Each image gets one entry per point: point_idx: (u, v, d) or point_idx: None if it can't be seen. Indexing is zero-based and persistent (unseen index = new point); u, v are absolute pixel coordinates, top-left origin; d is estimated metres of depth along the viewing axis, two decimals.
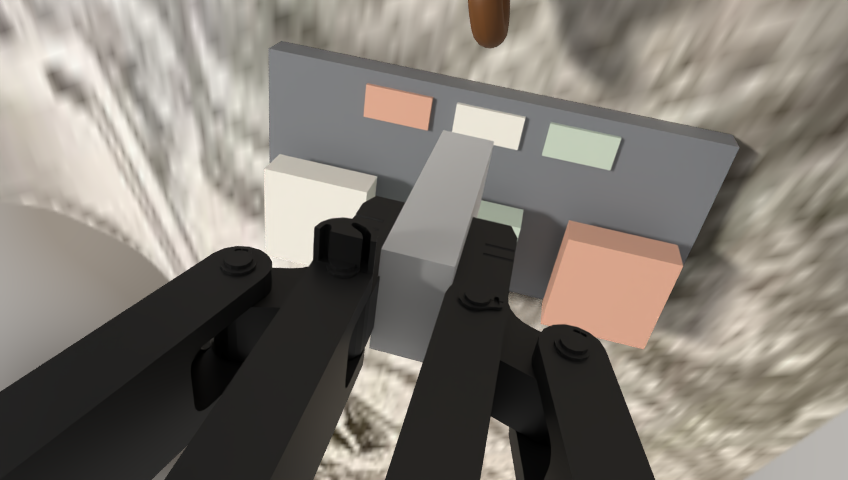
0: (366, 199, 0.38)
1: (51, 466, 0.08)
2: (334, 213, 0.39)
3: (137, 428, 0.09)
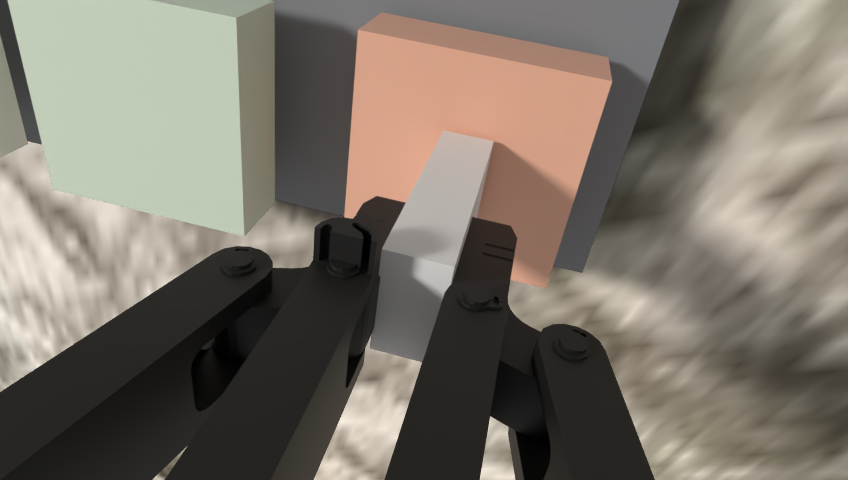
0: None
1: (51, 466, 0.08)
2: None
3: (138, 428, 0.09)
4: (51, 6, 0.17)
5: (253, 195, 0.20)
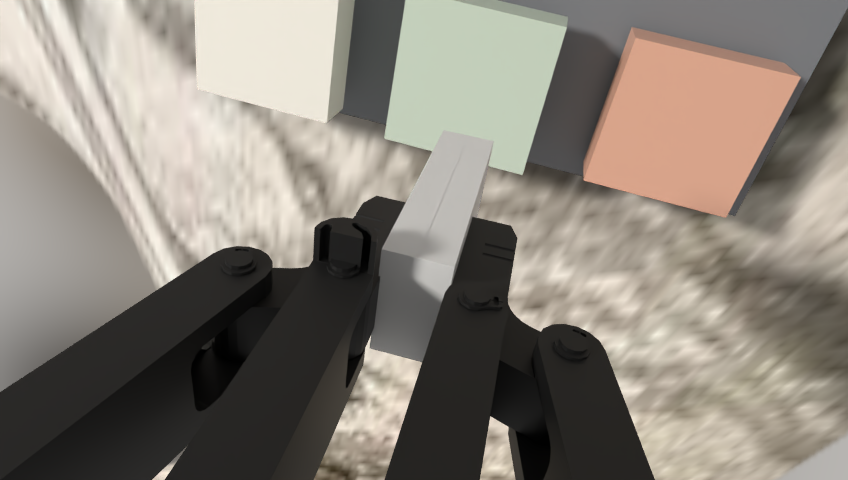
0: None
1: (51, 466, 0.08)
2: (293, 13, 0.27)
3: (137, 428, 0.09)
4: (435, 14, 0.26)
5: None
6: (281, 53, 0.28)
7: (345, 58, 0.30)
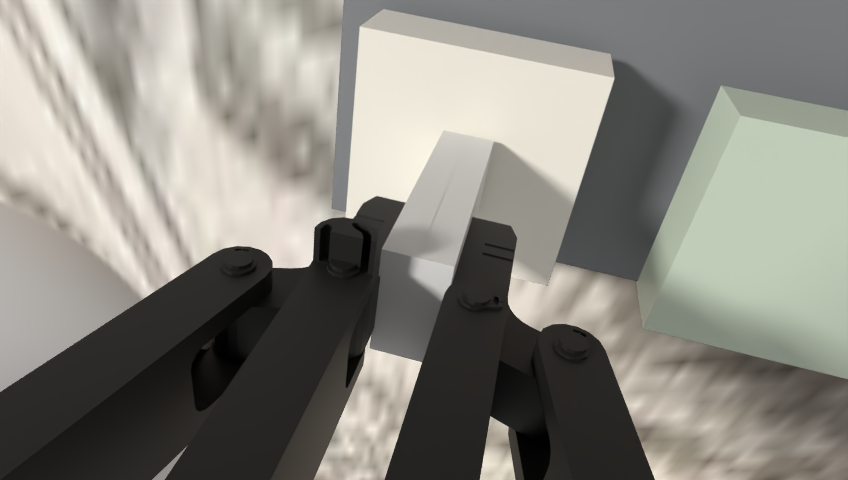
0: (606, 97, 0.16)
1: (52, 466, 0.08)
2: (517, 136, 0.17)
3: (137, 428, 0.09)
4: (786, 155, 0.15)
5: None
6: (488, 191, 0.18)
7: None
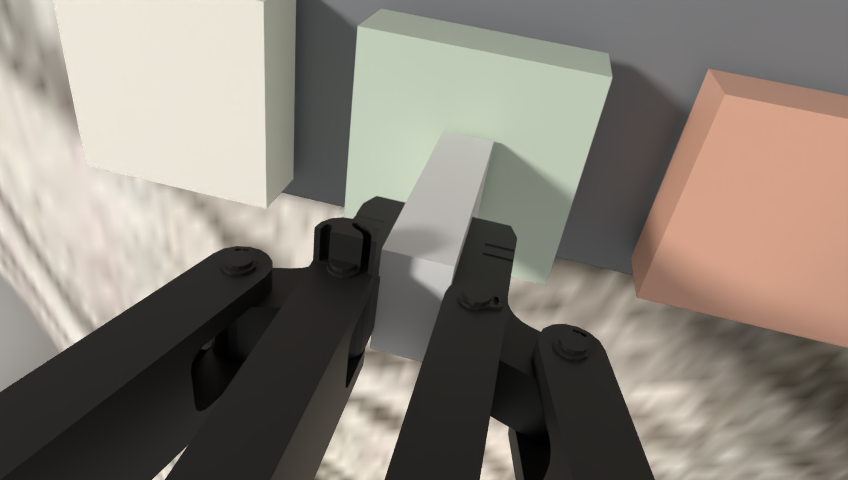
0: (265, 21, 0.17)
1: (52, 466, 0.08)
2: (201, 61, 0.18)
3: (138, 428, 0.09)
4: (404, 62, 0.17)
5: None
6: (193, 116, 0.20)
7: (288, 115, 0.21)
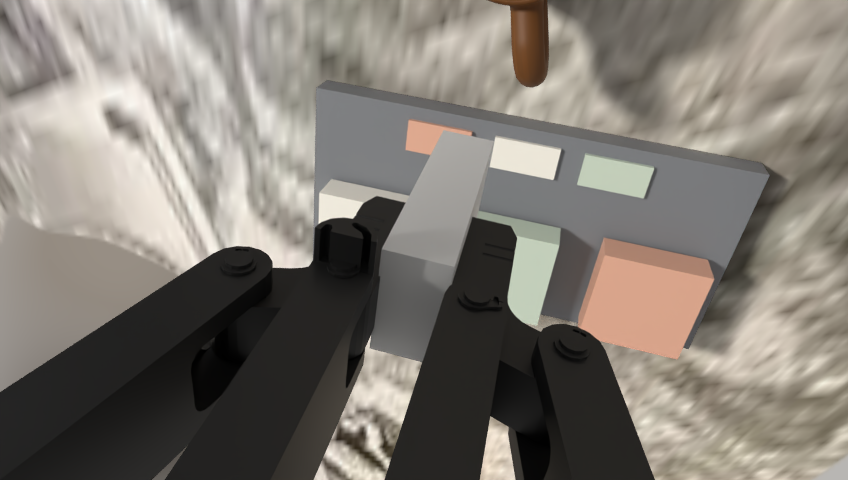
0: None
1: (51, 466, 0.08)
2: None
3: (138, 428, 0.09)
4: None
5: None
6: None
7: None
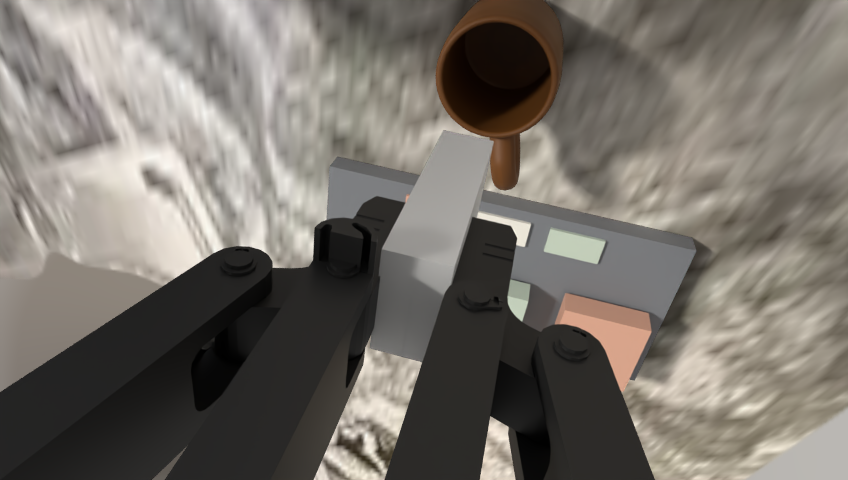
0: None
1: (51, 466, 0.08)
2: None
3: (138, 429, 0.09)
4: None
5: None
6: None
7: None
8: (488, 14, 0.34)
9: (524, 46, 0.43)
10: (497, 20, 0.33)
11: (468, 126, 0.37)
